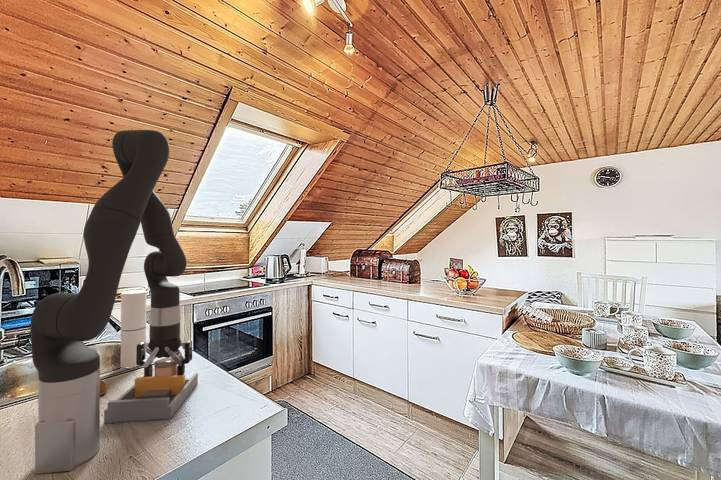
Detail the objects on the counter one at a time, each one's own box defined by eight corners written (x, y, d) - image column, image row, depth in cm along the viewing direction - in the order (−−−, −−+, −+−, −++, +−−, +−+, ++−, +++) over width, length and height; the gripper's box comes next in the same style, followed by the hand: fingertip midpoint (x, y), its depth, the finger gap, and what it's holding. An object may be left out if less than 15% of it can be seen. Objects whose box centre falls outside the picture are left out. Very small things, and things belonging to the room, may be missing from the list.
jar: (172, 392, 91) (173, 364, 91) (150, 394, 90) (150, 365, 90) (180, 383, 96) (181, 357, 96) (159, 385, 95) (159, 358, 95)
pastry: (115, 390, 93) (115, 377, 93) (91, 402, 87) (91, 388, 87) (90, 386, 95) (89, 373, 95) (64, 397, 89) (64, 384, 89)
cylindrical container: (132, 369, 107) (133, 294, 106) (115, 367, 108) (115, 293, 108) (150, 361, 114) (151, 290, 113) (134, 359, 115) (134, 289, 115)
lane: (170, 419, 79) (171, 399, 79) (104, 423, 77) (104, 402, 77) (197, 383, 98) (197, 367, 98) (144, 386, 96) (144, 369, 96)
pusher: (179, 400, 87) (179, 381, 87) (128, 403, 85) (128, 384, 85) (185, 392, 91) (185, 375, 91) (137, 395, 89) (137, 377, 89)
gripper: (130, 325, 87) (130, 385, 87) (187, 324, 89) (186, 383, 90) (144, 318, 95) (144, 373, 95) (196, 317, 97) (196, 371, 97)
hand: (164, 378), depth 92 cm, fingers open, 7 cm apart
